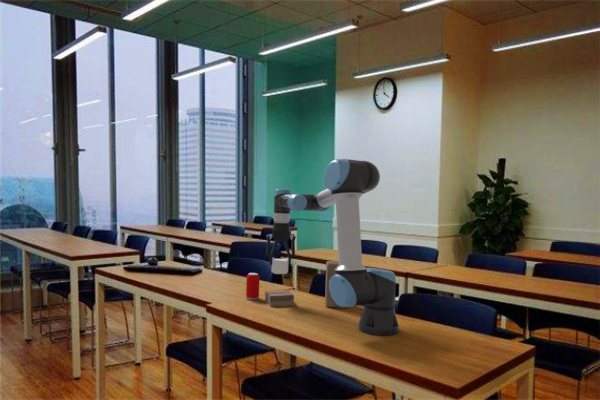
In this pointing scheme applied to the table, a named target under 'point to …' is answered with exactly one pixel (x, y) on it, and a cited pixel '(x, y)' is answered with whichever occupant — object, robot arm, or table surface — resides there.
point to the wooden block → (329, 273)
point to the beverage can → (252, 286)
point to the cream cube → (280, 266)
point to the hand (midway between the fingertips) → (279, 271)
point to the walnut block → (279, 298)
